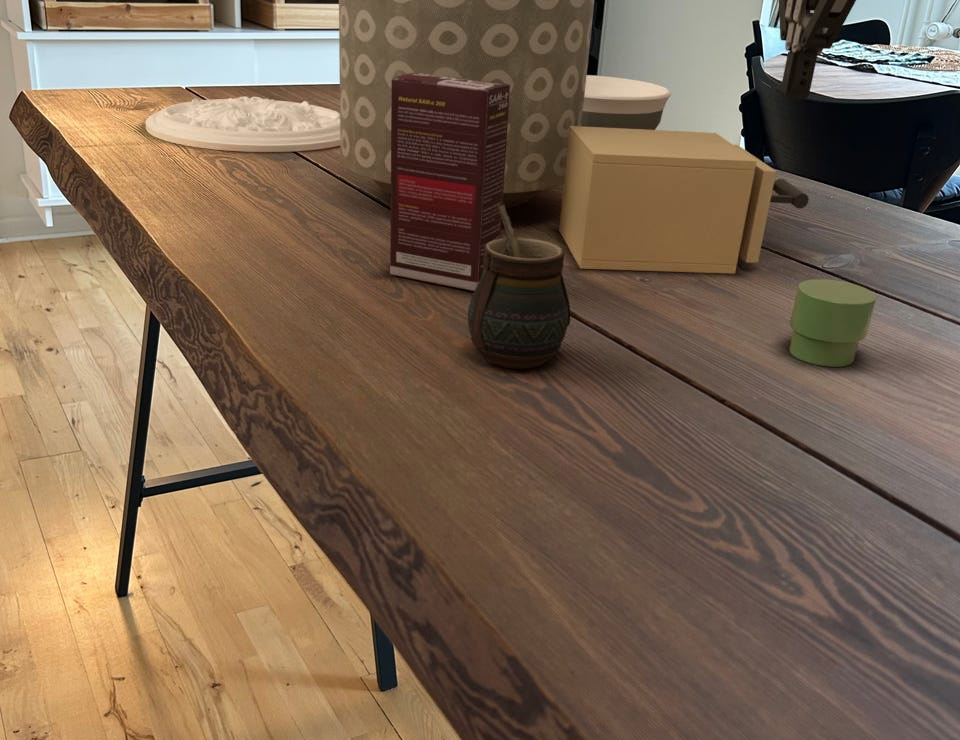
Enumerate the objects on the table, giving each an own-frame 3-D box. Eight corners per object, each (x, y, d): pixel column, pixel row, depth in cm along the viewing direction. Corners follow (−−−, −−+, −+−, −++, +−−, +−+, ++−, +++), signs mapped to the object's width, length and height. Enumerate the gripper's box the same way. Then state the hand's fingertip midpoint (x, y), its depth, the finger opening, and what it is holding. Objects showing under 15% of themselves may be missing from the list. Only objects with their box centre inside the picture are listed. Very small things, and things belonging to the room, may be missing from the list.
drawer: (766, 231, 106) (784, 146, 101) (806, 264, 96) (827, 173, 92) (593, 224, 104) (603, 138, 99) (615, 258, 94) (627, 164, 90)
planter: (493, 250, 97) (512, -38, 84) (291, 201, 108) (282, -61, 95) (611, 203, 115) (641, -39, 103) (429, 165, 126) (436, -58, 114)
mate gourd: (505, 385, 70) (516, 238, 65) (442, 348, 75) (448, 209, 70) (585, 366, 74) (602, 225, 68) (520, 332, 79) (531, 199, 73)
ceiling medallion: (262, 162, 122) (261, 134, 121) (99, 126, 134) (96, 100, 132) (399, 132, 143) (400, 108, 141) (248, 103, 155) (246, 81, 153)
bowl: (497, 142, 141) (501, 77, 137) (590, 131, 152) (596, 71, 148) (597, 170, 130) (605, 101, 125) (689, 156, 141) (700, 92, 136)
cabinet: (698, 235, 106) (716, 132, 101) (735, 273, 95) (757, 160, 90) (558, 230, 104) (569, 125, 99) (580, 268, 94) (593, 153, 88)
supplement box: (500, 278, 89) (514, 82, 81) (476, 294, 86) (489, 89, 77) (412, 261, 92) (417, 70, 84) (386, 275, 89) (388, 76, 80)
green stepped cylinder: (842, 342, 81) (858, 280, 79) (871, 369, 76) (889, 305, 74) (773, 340, 80) (787, 277, 78) (798, 368, 76) (814, 302, 73)
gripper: (919, -126, 79) (862, 113, 88) (851, -123, 91) (806, 88, 99) (826, -133, 78) (778, 108, 87) (769, -129, 90) (731, 84, 99)
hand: (793, 97), depth 93 cm, fingers closed
